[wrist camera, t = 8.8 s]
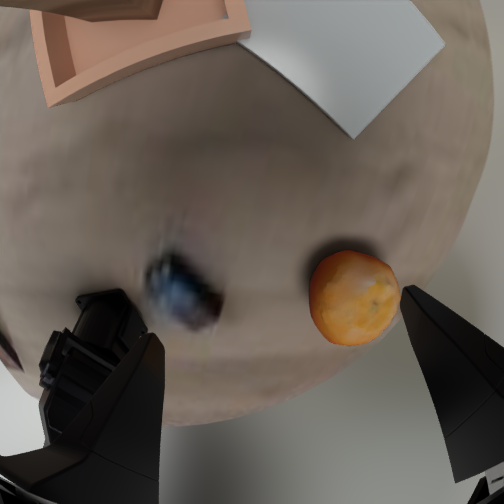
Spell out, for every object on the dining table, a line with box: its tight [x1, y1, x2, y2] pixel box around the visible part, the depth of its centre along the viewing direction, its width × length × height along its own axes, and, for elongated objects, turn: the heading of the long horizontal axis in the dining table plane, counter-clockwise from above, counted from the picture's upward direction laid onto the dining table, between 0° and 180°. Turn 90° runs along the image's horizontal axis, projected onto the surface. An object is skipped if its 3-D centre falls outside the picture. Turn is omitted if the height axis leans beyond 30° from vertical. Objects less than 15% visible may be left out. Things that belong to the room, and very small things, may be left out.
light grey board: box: [220, 0, 446, 139], centre depth 13 cm, size 12×12×1 cm
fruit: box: [309, 250, 401, 346], centre depth 23 cm, size 8×8×8 cm
